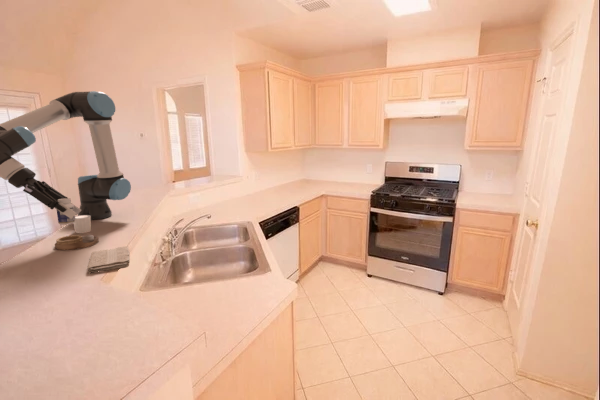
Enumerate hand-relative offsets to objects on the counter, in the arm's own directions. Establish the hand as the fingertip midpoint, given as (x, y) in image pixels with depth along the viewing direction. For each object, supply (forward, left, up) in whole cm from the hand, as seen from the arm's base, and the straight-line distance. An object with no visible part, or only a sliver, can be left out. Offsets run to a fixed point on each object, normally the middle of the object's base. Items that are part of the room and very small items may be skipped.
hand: (76, 214), depth 114 cm
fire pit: (+1, 0, -12) cm, 12 cm away
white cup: (-4, -19, -12) cm, 23 cm away
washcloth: (-4, +29, -13) cm, 32 cm away
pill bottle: (+3, -1, -4) cm, 5 cm away
